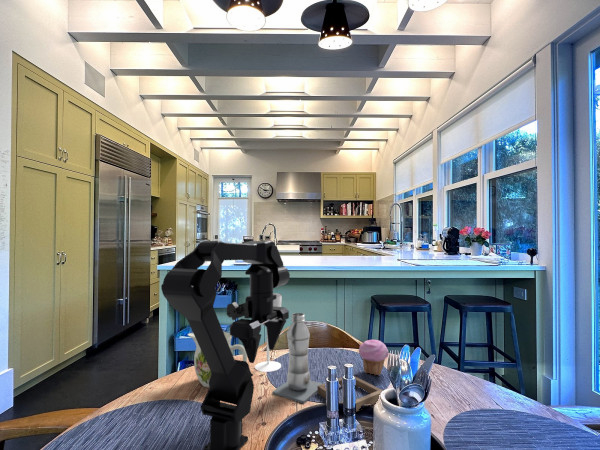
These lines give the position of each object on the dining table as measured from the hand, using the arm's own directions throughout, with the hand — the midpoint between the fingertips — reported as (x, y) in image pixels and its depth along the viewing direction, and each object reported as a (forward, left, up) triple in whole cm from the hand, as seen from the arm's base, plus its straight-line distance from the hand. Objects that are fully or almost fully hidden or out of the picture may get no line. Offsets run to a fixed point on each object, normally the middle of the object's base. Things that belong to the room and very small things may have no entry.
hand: (262, 355), depth 76 cm
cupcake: (+32, -21, -13) cm, 41 cm away
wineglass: (+24, +12, -13) cm, 30 cm away
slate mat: (+13, -4, -13) cm, 19 cm away
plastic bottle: (+13, -4, -13) cm, 18 cm away
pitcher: (+8, +20, -13) cm, 25 cm away
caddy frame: (+15, -18, -13) cm, 27 cm away
